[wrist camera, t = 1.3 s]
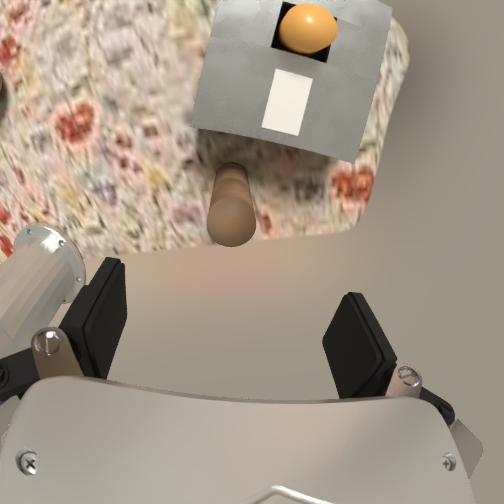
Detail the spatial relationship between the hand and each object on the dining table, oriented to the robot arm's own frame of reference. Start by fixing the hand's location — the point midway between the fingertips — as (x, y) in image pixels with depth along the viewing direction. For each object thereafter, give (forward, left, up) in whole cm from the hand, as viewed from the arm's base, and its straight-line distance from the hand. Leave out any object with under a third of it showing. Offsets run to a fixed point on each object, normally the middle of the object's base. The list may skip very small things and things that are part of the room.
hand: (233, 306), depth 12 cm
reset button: (+14, +7, -16) cm, 22 cm away
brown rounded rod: (0, 0, -20) cm, 20 cm away
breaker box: (+12, +6, -20) cm, 24 cm away
